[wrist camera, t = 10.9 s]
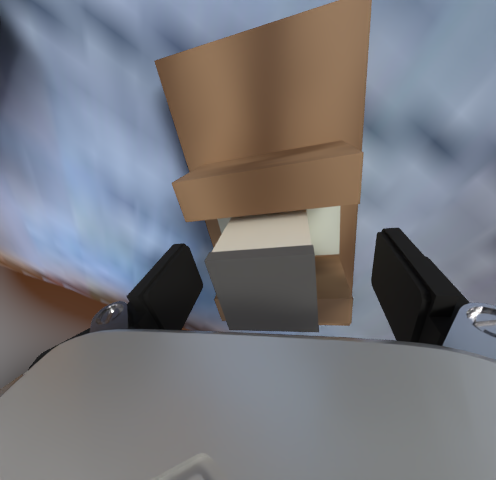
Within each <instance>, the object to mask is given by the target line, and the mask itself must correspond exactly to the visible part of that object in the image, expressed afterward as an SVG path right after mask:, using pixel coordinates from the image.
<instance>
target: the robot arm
mask: <svg viewBox="0 0 496 480" xmlns="http://www.w3.org/2000/svg"><path fill="white" fill-rule="evenodd" d="M371 282H372V286H373V289H374V291H375V293H376V296H377V298H378V300H379V302H380V305H381V307H382V309H383V311H384V313H385V316H386V318H387V320H388V322H389V325H390V327H391V329H392V331H393V334H394V336H395V338H396V340H397V341H394V340H378V339H362V338H346V337H325V336H304V335H283V334H261V333H237V332H213V331H186V330H182V328H183V326H184V324H185V322H186V320H187V318H188V316H189V314H190V312H191V310H192V308H193V306H194V304H195V302H196V300H197V298H198V296H199V294H200V292H201V290H202V288H203V282H202V280H201V277H200V274H199V272H198V269H197V267H196V264H195V261H194V259H193V256H192V254H191V251H190V248H189V247H188V246H186V245H185V244H174V245H172V246H171V248H170V249H169V250H168V251H167V252H166V253H165V254H164V255H163V256H162V258H161V259H160V260H159V261H158V262H157V263H156V264H155V265H154V267H153V268H152V269H151V270H150V271H149V272H148V273H147V274H146V275H145V277H144V278H143V279H142V280H141V281H140V282H139V283H138V284H137V285H136V287H135V288H134V289H133V290H132V291H131V292H130V293H129V294H128V295H127V298H128V300H129V301H130V302H129V303H128V304H126V303H125V302H122V301H119V302H114V303H112V304H109V305H108V306H106V307H104V308H103V309H101V310H100V311H99V312H98V313H97V314H96V315H95V316H94V318H93V319H92V322H91V327H90V328H89V329H87V330H85V331H83V332H81V333H80V334H78V335H76V336H74V337H72V338H70V339H68V340H66V341H64V342H62V343H60V344H59V345H57V346H55V347H53V348H51V349H49V350H47V351H45V352H43V353H42V354H41V355H40V356H38V357H37V359H36V360H35V361H34V362H33V364H32V365H31V366H30V367H29V369H28V371H27V372H26V373H25V374H24V375H23V374H22V375H20V376H19V377H18V378H16V379H15V380H13V381H12V382H10V383H9V384H8V385H6V386H5V387H3V388H2V389H0V480H496V306H494V305H490V304H484V303H469V302H468V300H467V299H466V298H465V297H464V296H463V295H462V294H461V293H460V292H459V291H458V289H457V288H456V287H455V286H454V285H453V284H452V283H451V282H450V281H449V280H448V279H447V277H446V276H445V275H444V274H443V273H442V272H441V271H440V270H439V269H438V268H437V267H436V265H435V264H434V263H433V262H432V261H431V260H430V259H429V258H428V257H425V256H424V255H423V254H422V253H421V252H420V251H419V249H418V248H417V247H416V246H415V245H414V244H413V243H412V242H411V241H410V239H409V238H408V237H407V236H406V235H405V234H404V233H403V232H402V231H401V229H400V228H387V229H383V230H382V232H378V233H377V238H376V246H375V254H374V262H373V270H372V278H371Z"/></svg>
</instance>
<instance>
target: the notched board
mask: <svg viewBox="0 0 496 480" xmlns="http://www.w3.org/2000/svg"><path fill="white" fill-rule="evenodd" d="M371 3H372V0H338V1H335V2H332V3H329V4H326V5H323V6H320V7H317V8H314V9H311V10H308V11H305V12H302V13H299V14H296V15H293V16H290V17H287V18H284V19H281V20H277V21H274V22H271V23H268V24H265V25H262V26H259V27H256V28H253V29H250V30H247V31H244V32H241V33H238V34H235V35H232V36H229V37H226V38H223V39H220V40H216V41H213V42H210V43H207V44H204V45H201V46H198V47H195V48H192V49H189V50H186V51H183V52H180V53H177V54H174V55H171V56H168V57H165V58H162V59H159V60H156V61H155V65H156V68H157V71H158V74H159V77H160V80H161V84H162V87H163V90H164V93H165V96H166V99H167V102H168V106H169V109H170V112H171V115H172V118H173V121H174V125H175V128H176V131H177V134H178V137H179V140H180V144H181V147H182V150H183V153H184V156H185V159H186V162H187V166H188V169H189V173H188V174H186V175H184V176H183V177H181V178H179V179H178V180H176V181H174V182H173V183H172V185H173V188H174V191H175V194H176V196H177V199H178V202H179V205H180V207H181V210H182V213H183V216H184V218H185V221H186V222H192V221H201V220H205V222H206V226H207V229H208V232H209V235H210V238H211V241H212V244H213V248H214V247H215V245H216V243H217V242H218V240H219V238H220V236H221V235H222V233H223V231H224V229H225V228H226V226H227V224H228V222H229V221H230V219H231V217H239V216H249V215H258V214H267V213H277V212H286V211H296V210H305V209H306V211H307V218H308V224H309V231H310V237H311V244H312V245H313V247H314V253H315V269H316V288H317V306H318V325H345V326H350V323H351V320H352V306H353V297H352V286H353V271H354V256H355V241H356V226H357V212H358V204H360V194H361V180H362V166H363V152H362V137H363V122H364V107H365V93H366V78H367V63H368V48H369V33H370V18H371ZM214 300H215V303H216V306H217V308H218V311H219V314H220V317H221V319H222V321H226V319H225V316H224V314H223V311H222V308H221V305H220V303H219V300H218V297H217V294H216V296H215V299H214Z"/></svg>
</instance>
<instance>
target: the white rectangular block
mask: <svg viewBox="0 0 496 480" xmlns="http://www.w3.org/2000/svg"><path fill="white" fill-rule="evenodd" d="M205 264H206V267H207V270H208V272H209V275H210V278H211V281H212V283H213V286H214V289H215V292H216V294H217V297H218V300H219V303H220V305H221V308H222V311H223V314H224V316H225V319H226V322H227V325H228V327H229V330H252V331H291V332H319V325H318V306H317V288H316V269H315V253H314V247H313V245H312V244H311V237H310V231H309V224H308V218H307V211H306V209H305V210H296V211H286V212H277V213H267V214H258V215H249V216H239V217H231V219H230V221H229V222H228V224H227V226H226V228H225V229H224V231H223V233H222V235H221V236H220V238H219V240H218V242H217V243H216V245H215V247H214V249H213V250H212V252H209V254H208V256H207V257H206V259H205Z"/></svg>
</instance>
